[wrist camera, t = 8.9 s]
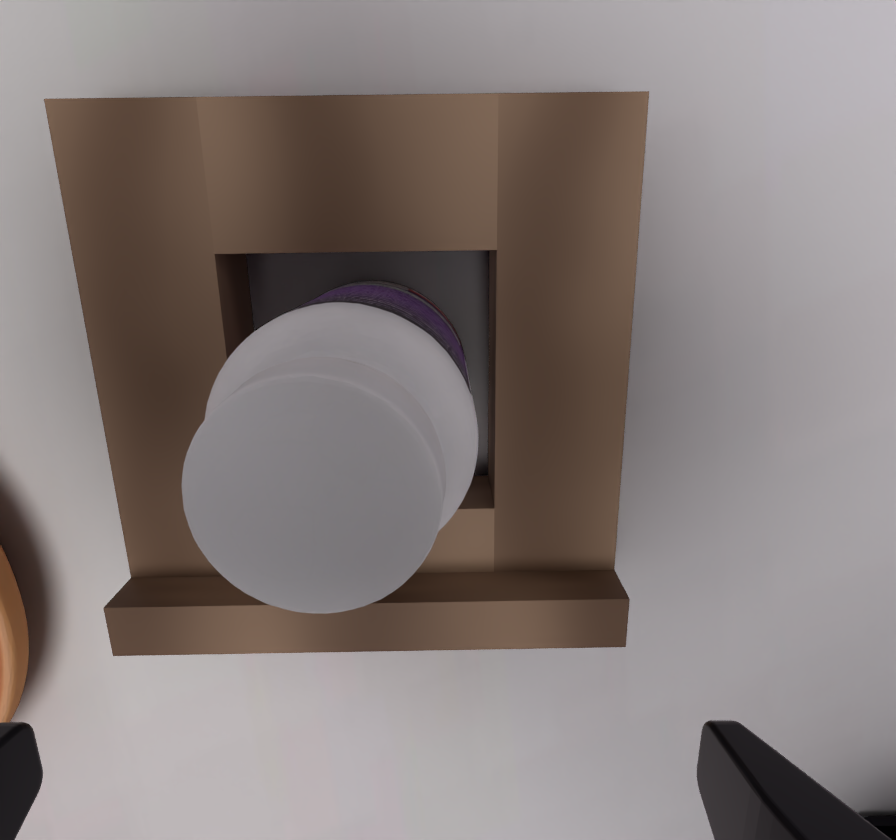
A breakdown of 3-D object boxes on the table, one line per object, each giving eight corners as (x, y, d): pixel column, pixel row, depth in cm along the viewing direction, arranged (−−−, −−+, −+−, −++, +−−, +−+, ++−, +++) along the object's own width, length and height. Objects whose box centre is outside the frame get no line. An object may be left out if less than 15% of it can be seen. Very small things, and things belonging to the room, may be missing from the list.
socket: (619, 113, 16) (672, 74, 13) (591, 570, 20) (625, 646, 17) (102, 119, 16) (-2, 82, 13) (175, 577, 20) (113, 655, 17)
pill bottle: (268, 296, 18) (78, 358, 8) (449, 264, 18) (459, 290, 8) (311, 466, 19) (191, 677, 10) (478, 439, 19) (514, 627, 10)
